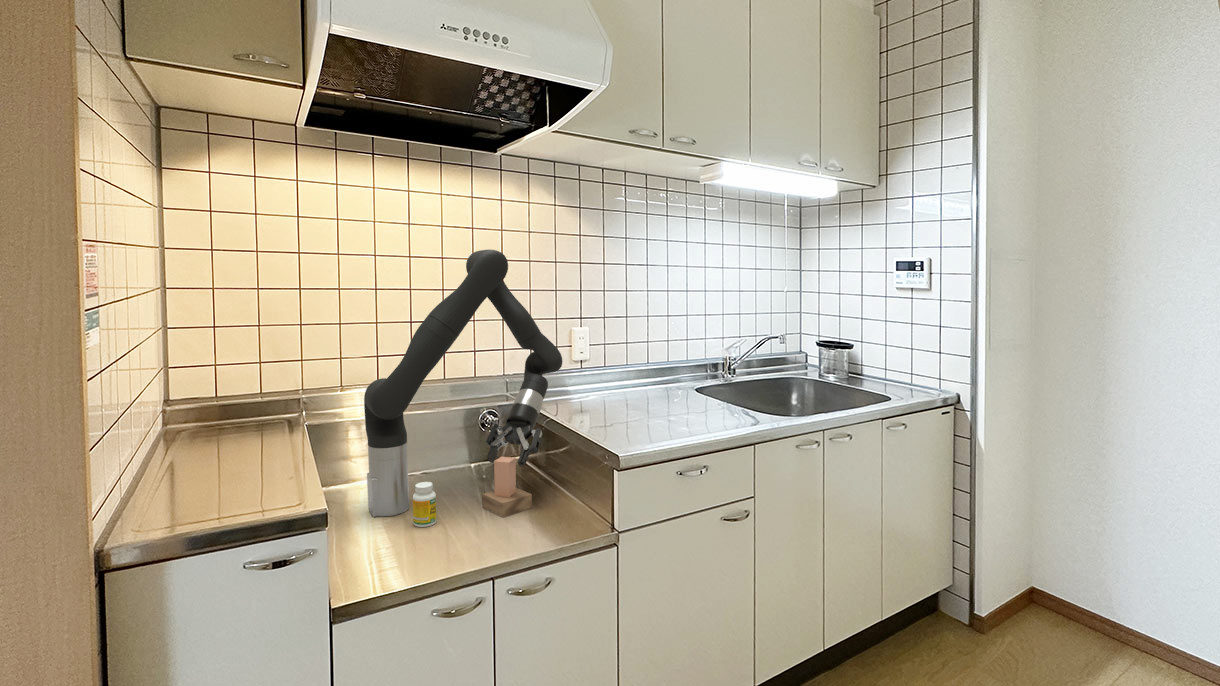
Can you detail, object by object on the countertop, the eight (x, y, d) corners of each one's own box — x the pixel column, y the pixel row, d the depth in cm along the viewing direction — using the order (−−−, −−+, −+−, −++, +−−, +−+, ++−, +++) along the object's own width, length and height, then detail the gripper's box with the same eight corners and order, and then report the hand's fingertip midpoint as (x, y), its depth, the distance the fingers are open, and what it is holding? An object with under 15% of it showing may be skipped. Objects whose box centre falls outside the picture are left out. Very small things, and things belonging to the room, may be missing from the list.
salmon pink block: (508, 497, 149) (508, 462, 148) (494, 495, 150) (494, 461, 149) (515, 491, 153) (515, 458, 152) (501, 490, 154) (501, 456, 153)
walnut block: (502, 519, 145) (502, 503, 145) (482, 508, 152) (482, 493, 151) (531, 509, 152) (531, 494, 151) (511, 499, 158) (511, 485, 158)
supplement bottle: (417, 518, 144) (415, 480, 143) (439, 518, 145) (438, 480, 144) (410, 527, 139) (409, 488, 138) (433, 527, 139) (432, 488, 138)
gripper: (497, 399, 159) (474, 453, 150) (545, 404, 154) (525, 459, 145) (507, 415, 165) (486, 467, 155) (554, 419, 160) (535, 473, 150)
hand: (505, 463), depth 150 cm, fingers open, 8 cm apart
